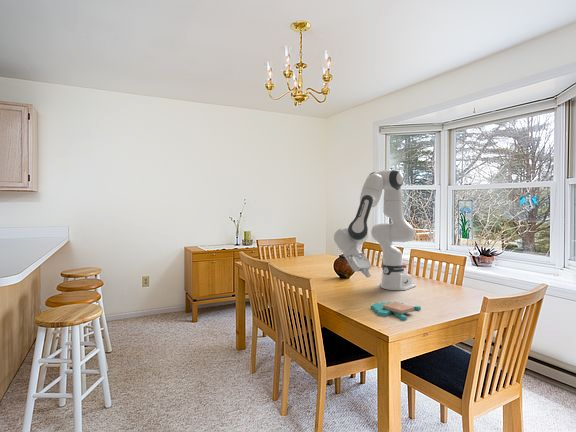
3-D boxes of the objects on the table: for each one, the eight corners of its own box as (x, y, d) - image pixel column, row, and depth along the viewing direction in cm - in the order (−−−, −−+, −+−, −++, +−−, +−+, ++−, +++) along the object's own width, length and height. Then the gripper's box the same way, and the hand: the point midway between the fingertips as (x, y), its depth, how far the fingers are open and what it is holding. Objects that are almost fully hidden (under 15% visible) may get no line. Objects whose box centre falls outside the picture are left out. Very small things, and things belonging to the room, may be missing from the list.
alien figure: (420, 310, 175) (382, 303, 187) (420, 306, 174) (382, 299, 187) (405, 322, 159) (364, 313, 172) (405, 317, 159) (364, 308, 172)
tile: (395, 301, 177) (414, 307, 168) (395, 305, 177) (414, 310, 168) (382, 305, 172) (401, 310, 163) (382, 308, 172) (401, 314, 163)
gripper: (350, 251, 183) (366, 274, 178) (364, 252, 201) (379, 272, 195) (341, 259, 186) (357, 281, 180) (356, 258, 203) (370, 279, 197)
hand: (368, 276), depth 188 cm, fingers closed
